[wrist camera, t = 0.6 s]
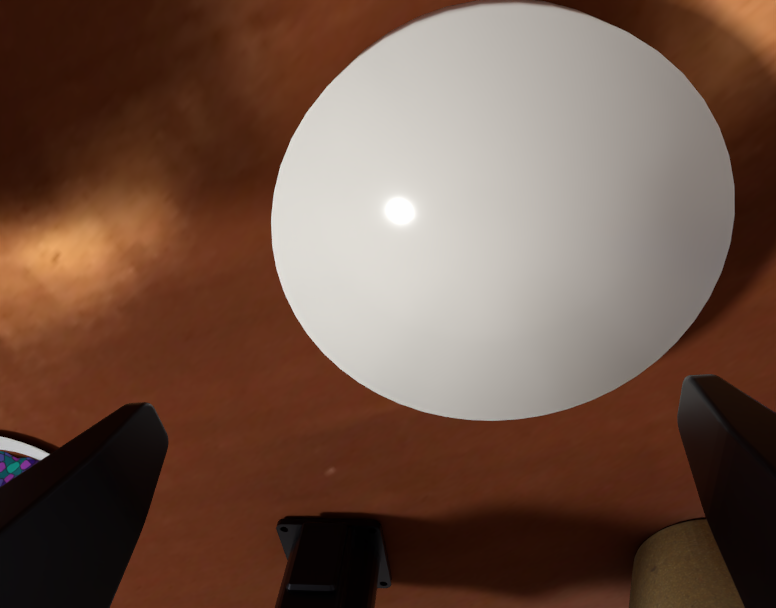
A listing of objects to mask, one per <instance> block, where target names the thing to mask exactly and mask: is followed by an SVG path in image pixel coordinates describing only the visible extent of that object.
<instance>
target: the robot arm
mask: <svg viewBox="0 0 776 608" xmlns="http://www.w3.org/2000/svg"><path fill="white" fill-rule="evenodd" d="M678 427H679V432H680V435H681V438H682V442H683V445H684V448H685V451H686V455H687V458H688V461H689V464H690V468H691V471H692V474H693V478H694V481H695V484H696V487H697V491H698V494H699V497H700V501H701V504H702V507H703V510H704V513H705V516H706V519H707V522H708V524H709V527H710V529H711V532H712V534H713V537H714V539H715V541H716V543H717V546H718V548H719V550H720V553H721V555H722V557H723V559H724V562H725V564H726V566H727V568H728V571H729V573H730V575H731V578H732V580H733V582H734V584H735V587H736V589H737V591H738V594H739V596H740V598H741V600H742V603H743V605H744V607H745V608H776V413H775V412H773V411H772V410H770V409H769V408H767V407H765V406H764V405H762V404H761V403H759V402H758V401H756V400H755V399H753V398H751V397H750V396H748V395H747V394H745V393H744V392H742V391H740V390H739V389H737V388H736V387H734V386H733V385H731V384H730V383H728V382H726V381H725V380H723V379H722V378H720V377H718V376H716V375H712V374H707V375H690V376H687V377H686V378H685V379H684V381H683V385H682V391H681V397H680V403H679V409H678ZM167 449H168V435H167V433H166V431H165V429H164V427H163V425H162V422H161V420H160V418H159V416H158V414H157V412H156V410H155V408H154V407H153V406H152V405H151V404H150V403H146V402H142V403H129V404H125V405H124V406H122V407H121V408H119V409H118V410H116V411H115V412H113V413H112V414H110V415H108V416H107V417H105V418H104V419H102V420H101V421H99V422H98V423H96V424H95V425H93V426H92V427H90V428H89V429H87V430H86V431H84V432H83V433H81V434H80V435H78V436H77V437H75V438H74V439H72V440H71V441H69V442H68V443H66V444H65V445H63V446H62V447H60V448H59V449H57V450H56V451H54V452H53V453H51V454H50V455H48V456H46V457H45V458H43V459H42V460H40V461H39V462H37V463H36V464H34V465H33V466H31V467H30V468H28V469H27V470H25V471H24V472H22V473H21V474H19V475H18V476H16V477H15V478H13V479H12V480H10V481H9V482H7V483H6V484H4V485H3V486H1V487H0V608H110V605H111V603H112V601H113V598H114V596H115V593H116V591H117V589H118V586H119V584H120V582H121V579H122V577H123V574H124V572H125V570H126V567H127V565H128V562H129V560H130V558H131V555H132V553H133V550H134V548H135V546H136V543H137V541H138V539H139V536H140V533H141V531H142V528H143V526H144V523H145V520H146V517H147V514H148V511H149V508H150V504H151V501H152V498H153V495H154V491H155V488H156V485H157V481H158V478H159V475H160V472H161V468H162V465H163V462H164V459H165V455H166V452H167ZM276 529H277V532H278V535H279V538H280V540H281V543H282V546H283V549H284V552H285V554H286V557H287V560H288V562H287V565H286V569H285V573H284V576H283V580H282V583H281V587H280V591H279V594H278V598H277V601H276V605H275V608H374V607H375V599H376V591H377V588H388V587H390V586H391V580H392V577H391V572H390V567H389V562H388V557H387V552H386V547H385V542H384V537H383V532H382V527H381V524H380V523H379V522H378V521H375V520H341V519H281V520H279V521H278V524H277V527H276Z"/></svg>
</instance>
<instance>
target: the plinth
mask: <svg viewBox="0 0 776 608" xmlns="http://www.w3.org/2000/svg"><path fill="white" fill-rule="evenodd" d="M734 216H735V192H734V180H733V174H732V168H731V163H730V157H729V154H728V151H727V148H726V145H725V142H724V139H723V136H722V134H721V131H720V128H719V126H718V124H717V122H716V120H715V119H714V117H713V115H712V113H711V111H710V109H709V108H708V106H707V104H706V102H705V100H704V99H703V98H702V96H701V95H700V94H699V93H698V91H697V90H696V89H695V88H694V86H693V85H692V84H691V83H690V81H689V80H688V79H687V78H686V76H685V75H684V74H683V73H682V72H681V71H680V70H679V69H678V68H676V67H675V66H674V65H673V64H672V63H671V62H670V61H669V60H667V59H666V58H665V57H664V56H663V55H662V54H661V53H660V52H658V51H657V50H655V49H654V48H652V47H651V46H649V45H648V44H646V43H644V42H643V41H641V40H640V39H638V38H636V37H635V36H633V35H632V34H630V33H628V32H626V31H624V30H622V29H620V28H618V27H616V26H613V25H611V24H609V23H607V22H605V21H603V20H600V19H598V18H595V17H593V16H591V15H588V14H586V13H584V12H581V11H579V10H577V9H574V8H570V7H566V6H562V5H558V4H554V3H550V2H546V1H537V0H476V1H472V2H467V3H462V4H457V5H452V6H447V7H444V8H442V9H439V10H436V11H433V12H430V13H427V14H425V15H422V16H419V17H417V18H415V19H413V20H411V21H409V22H407V23H405V24H403V25H401V26H399V27H398V28H396V29H394V30H392V31H390V32H388V33H387V34H386V35H384V36H383V37H381V38H380V39H379V40H377V41H376V42H374V43H373V44H372V45H370V46H369V47H367V48H366V49H365V50H364V51H363V52H362V53H361V54H359V55H358V56H357V57H356V58H355V59H354V60H353V61H352V62H351V63H350V64H349V65H348V66H347V67H346V68H345V69H344V70H343V71H342V72H341V73H340V74H339V75H338V76H337V77H336V78H335V79H334V80H333V81H332V82H331V83H330V84H329V85H328V86H327V87H326V89H325V90H324V91H323V92H322V94H321V95H320V96H319V98H318V99H317V100H316V101H315V103H314V104H313V105H312V106H311V108H310V109H309V110H308V111H307V113H306V115H305V116H304V118H303V120H302V121H301V123H300V125H299V127H298V128H297V130H296V132H295V133H294V135H293V137H292V139H291V141H290V143H289V146H288V148H287V151H286V153H285V156H284V158H283V161H282V163H281V166H280V170H279V174H278V178H277V182H276V186H275V190H274V196H273V206H272V216H271V228H272V247H273V252H274V258H275V263H276V268H277V272H278V275H279V278H280V281H281V284H282V287H283V290H284V293H285V295H286V298H287V300H288V302H289V304H290V306H291V308H292V310H293V312H294V314H295V316H296V317H297V319H298V320H299V322H300V323H301V325H302V327H303V328H304V330H305V331H306V333H307V334H308V336H309V337H310V338H311V339H312V340H313V341H314V343H315V344H316V345H317V346H318V347H319V349H320V350H321V351H322V352H323V353H324V354H325V355H326V356H327V357H328V358H329V359H330V360H331V361H332V362H333V363H335V364H336V365H337V366H338V367H339V368H340V369H341V370H343V371H344V372H345V373H347V374H348V375H349V376H351V377H352V378H353V379H355V380H356V381H357V382H359V383H360V384H362V385H364V386H366V387H367V388H369V389H371V390H372V391H374V392H376V393H377V394H379V395H381V396H384V397H386V398H388V399H390V400H392V401H395V402H397V403H399V404H402V405H405V406H408V407H411V408H414V409H417V410H420V411H423V412H427V413H431V414H436V415H440V416H444V417H451V418H459V419H467V420H488V421H497V420H514V419H523V418H529V417H536V416H542V415H546V414H550V413H554V412H558V411H562V410H566V409H569V408H572V407H575V406H577V405H580V404H583V403H586V402H589V401H591V400H593V399H596V398H598V397H600V396H602V395H604V394H606V393H608V392H610V391H612V390H614V389H616V388H618V387H619V386H621V385H623V384H624V383H626V382H628V381H629V380H631V379H633V378H634V377H636V376H637V375H639V374H640V373H641V372H643V371H644V370H645V369H647V368H648V367H649V366H651V365H652V364H653V363H654V362H656V361H657V360H658V359H659V358H660V357H662V356H663V355H664V354H665V353H666V352H667V351H668V350H669V349H670V348H671V347H672V346H673V345H674V344H675V343H676V342H677V341H678V340H679V339H680V338H681V336H682V335H683V334H684V333H685V332H686V330H687V329H688V328H689V327H690V326H691V324H692V323H693V322H694V321H695V319H696V318H697V316H698V315H699V313H700V312H701V310H702V308H703V307H704V305H705V304H706V302H707V301H708V299H709V297H710V296H711V294H712V291H713V289H714V287H715V285H716V283H717V281H718V279H719V276H720V274H721V272H722V269H723V266H724V263H725V260H726V256H727V253H728V250H729V247H730V243H731V236H732V229H733V223H734Z"/></svg>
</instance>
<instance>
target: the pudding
mask: <svg viewBox="0 0 776 608" xmlns="http://www.w3.org/2000/svg"><path fill="white" fill-rule="evenodd" d="M0 449H1V450H8V451H14V452H18V453H21V454H25V455H28V456H31V457H33V458H36V459H38V460H42V459H43V458H45V457H46V456H48V455H50V454H49V453H47V452H45V451H43V450H41V449H38V448H36V447H33V446H31V445H28V444H26V443H23V442H19V441H16V440H13V439H9V438H5V437H0ZM38 460H35V459H31V458H28V457H27V458H18V459H17V458H16V457H14V456H12V455H10V454H8V453H6V452H2V451H0V487H1V486H3V485H4V484H6V483H7V482H9V481H10V480H12V479H13V478H15V477H16V476H18V475H19V474H21V473H22V472H24V471H25V470H27V469H28V468H30V467H31V466H33V465H34V464H36V463H37V462H39V461H38Z"/></svg>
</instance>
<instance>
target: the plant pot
mask: <svg viewBox="0 0 776 608" xmlns="http://www.w3.org/2000/svg"><path fill="white" fill-rule="evenodd" d="M629 608H745V607H744V605H743V603H742V600H741V598H740V596H739V594H738V591H737V589H736V587H735V584H734V582H733V580H732V578H731V575H730V573H729V571H728V568H727V566H726V564H725V562H724V559H723V557H722V555H721V553H720V550H719V548H718V546H717V543H716V541H715V539H714V537H713V534H712V532H711V529H710V527H709V524H708V522H707V519H701V520H693V521H687V522H683V523H679V524H675V525H672V526H670V527H667V528H665V529H663V530H661V531H659V532H657V533H655V534H654V535H652V536H651V537H650V538H648V539H647V540H646V541H645V542H644V543H643V544H642V545H641V546H640V548H639V549H638V551H637V553H636V555H635V557H634V563H633V571H632V581H631V591H630V602H629Z"/></svg>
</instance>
